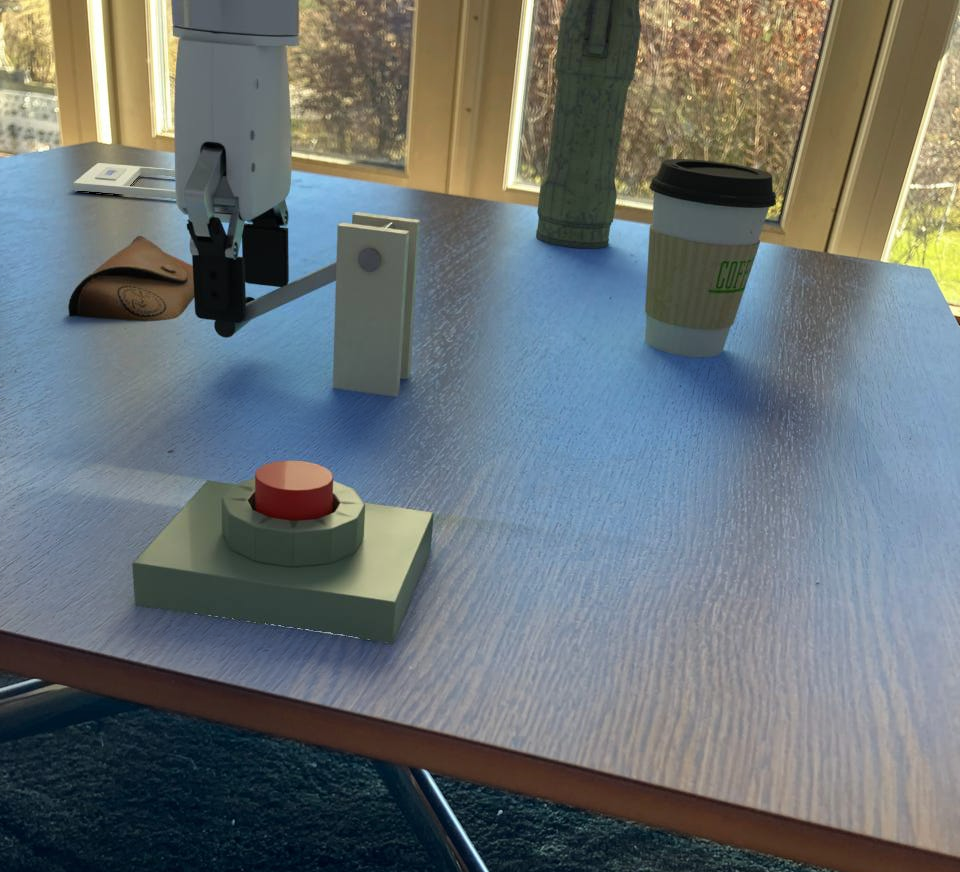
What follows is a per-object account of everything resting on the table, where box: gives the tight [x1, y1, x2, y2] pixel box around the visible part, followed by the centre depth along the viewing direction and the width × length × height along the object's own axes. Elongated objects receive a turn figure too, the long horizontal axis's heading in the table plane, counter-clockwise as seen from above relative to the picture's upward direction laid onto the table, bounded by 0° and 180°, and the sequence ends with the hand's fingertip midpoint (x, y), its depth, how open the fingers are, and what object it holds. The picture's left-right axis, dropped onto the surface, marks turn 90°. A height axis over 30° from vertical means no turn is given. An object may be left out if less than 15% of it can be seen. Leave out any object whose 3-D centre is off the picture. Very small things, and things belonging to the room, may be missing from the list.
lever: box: [213, 222, 396, 339], centre depth 75 cm, size 13×6×2 cm, turn 82°
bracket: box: [332, 211, 421, 398], centre depth 76 cm, size 10×8×12 cm
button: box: [254, 460, 334, 521], centre depth 53 cm, size 4×4×2 cm
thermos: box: [535, 0, 642, 250], centre depth 125 cm, size 9×12×35 cm
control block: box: [131, 477, 435, 645], centre depth 54 cm, size 12×10×4 cm
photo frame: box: [73, 162, 176, 200], centre depth 137 cm, size 15×1×18 cm
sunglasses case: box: [67, 235, 194, 322], centre depth 92 cm, size 18×7×7 cm
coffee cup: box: [644, 158, 777, 358], centre depth 91 cm, size 10×10×15 cm
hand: (244, 301), depth 76 cm, fingers open, 9 cm apart
